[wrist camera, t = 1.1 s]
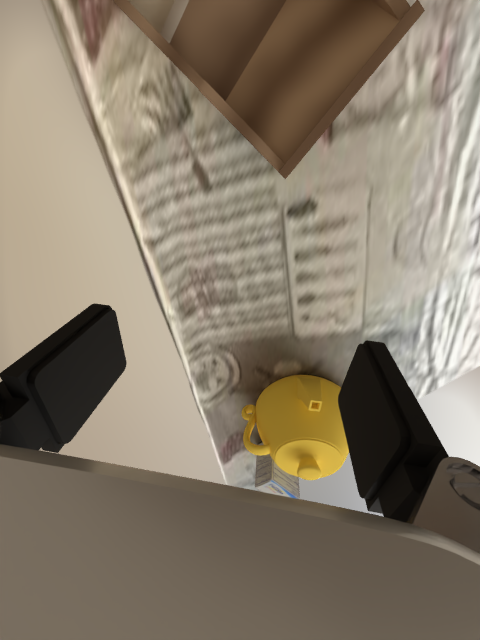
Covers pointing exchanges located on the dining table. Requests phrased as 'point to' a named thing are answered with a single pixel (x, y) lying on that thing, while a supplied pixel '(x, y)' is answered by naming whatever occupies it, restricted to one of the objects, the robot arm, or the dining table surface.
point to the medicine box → (275, 478)
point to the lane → (276, 59)
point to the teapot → (299, 426)
